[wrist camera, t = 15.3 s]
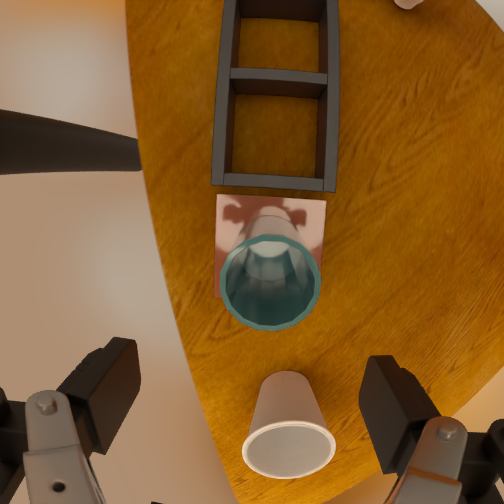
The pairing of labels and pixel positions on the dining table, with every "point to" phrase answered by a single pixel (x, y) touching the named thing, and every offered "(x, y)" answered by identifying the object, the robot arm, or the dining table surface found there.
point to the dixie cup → (287, 429)
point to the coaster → (252, 207)
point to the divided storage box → (279, 90)
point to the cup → (270, 276)
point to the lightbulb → (407, 3)
